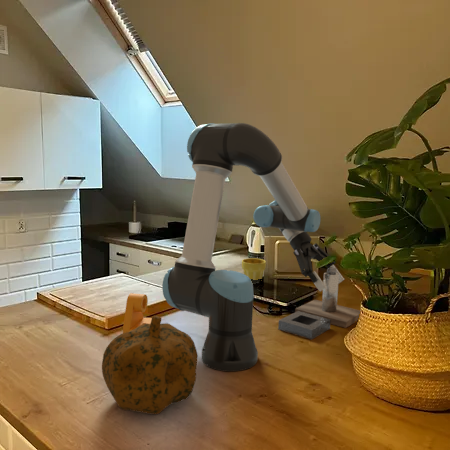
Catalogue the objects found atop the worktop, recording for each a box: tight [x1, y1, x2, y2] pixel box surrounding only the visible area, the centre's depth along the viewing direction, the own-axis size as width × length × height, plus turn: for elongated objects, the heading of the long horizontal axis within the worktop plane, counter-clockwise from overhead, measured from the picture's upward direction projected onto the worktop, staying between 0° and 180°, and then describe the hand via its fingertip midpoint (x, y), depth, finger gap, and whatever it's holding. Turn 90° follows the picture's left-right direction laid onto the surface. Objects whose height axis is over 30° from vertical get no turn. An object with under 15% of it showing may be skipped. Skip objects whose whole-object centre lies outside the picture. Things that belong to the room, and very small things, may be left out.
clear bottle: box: [321, 267, 339, 312], centre depth 156 cm, size 5×5×15 cm
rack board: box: [294, 299, 361, 329], centre depth 157 cm, size 14×19×2 cm
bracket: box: [122, 292, 152, 334], centre depth 138 cm, size 11×7×12 cm, turn 168°
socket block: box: [277, 311, 331, 340], centre depth 144 cm, size 12×12×3 cm
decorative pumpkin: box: [101, 315, 198, 415], centre depth 99 cm, size 20×21×20 cm
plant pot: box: [241, 257, 267, 280], centre depth 196 cm, size 10×10×10 cm
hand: (332, 285), depth 156 cm, fingers open, 13 cm apart
